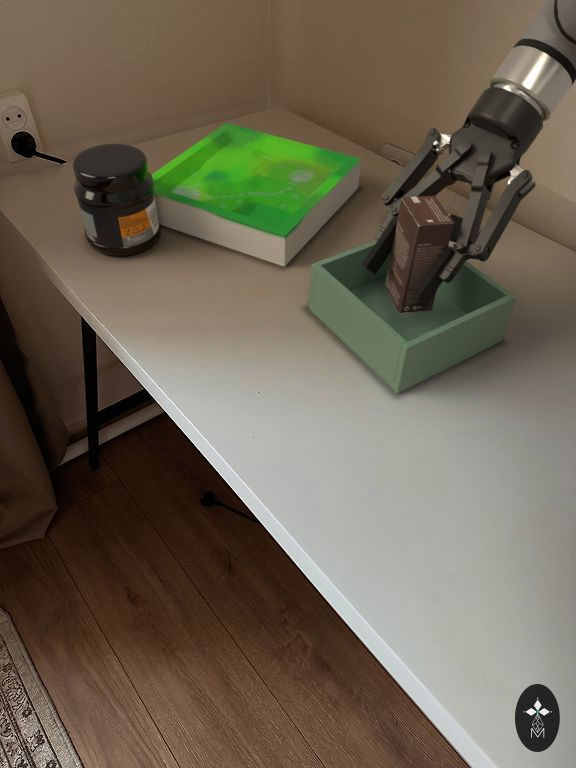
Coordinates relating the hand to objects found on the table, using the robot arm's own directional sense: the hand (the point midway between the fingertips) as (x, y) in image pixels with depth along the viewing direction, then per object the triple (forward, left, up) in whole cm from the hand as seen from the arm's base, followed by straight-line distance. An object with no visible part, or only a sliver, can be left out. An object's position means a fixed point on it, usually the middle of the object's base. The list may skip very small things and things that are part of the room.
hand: (393, 284), depth 73 cm
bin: (0, -3, -8) cm, 9 cm away
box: (0, -4, -4) cm, 5 cm away
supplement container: (+36, +19, -8) cm, 42 cm away
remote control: (+15, -22, -8) cm, 28 cm away
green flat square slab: (+35, -2, -8) cm, 37 cm away
